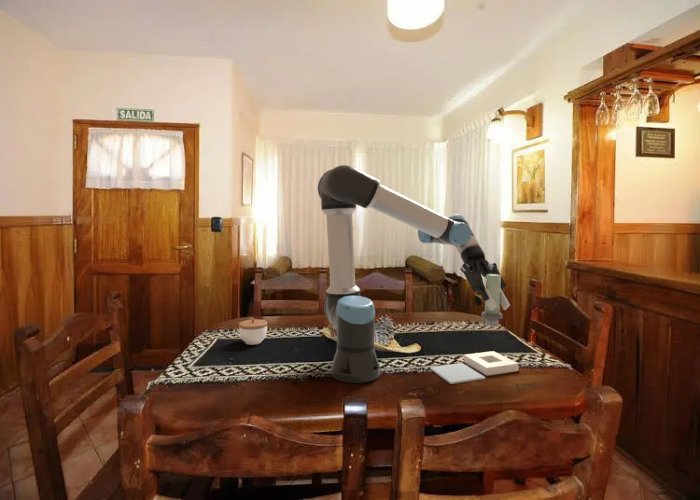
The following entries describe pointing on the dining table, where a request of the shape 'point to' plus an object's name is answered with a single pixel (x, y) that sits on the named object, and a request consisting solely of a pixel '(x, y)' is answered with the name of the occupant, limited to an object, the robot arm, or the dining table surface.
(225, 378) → the dining table surface
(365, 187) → the robot arm
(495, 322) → the candle in holder
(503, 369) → the socket block
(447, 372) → the mat
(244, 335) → the lidded jar
